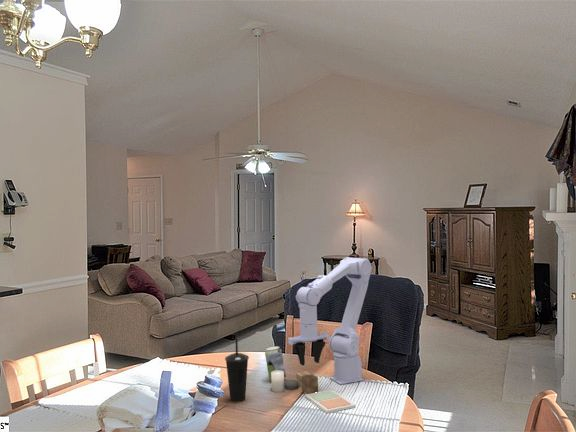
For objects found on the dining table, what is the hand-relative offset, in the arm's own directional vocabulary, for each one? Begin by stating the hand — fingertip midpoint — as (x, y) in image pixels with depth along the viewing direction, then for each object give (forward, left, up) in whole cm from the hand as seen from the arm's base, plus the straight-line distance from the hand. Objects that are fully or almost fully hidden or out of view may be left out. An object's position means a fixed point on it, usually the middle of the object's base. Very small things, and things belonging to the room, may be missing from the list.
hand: (309, 363), depth 170 cm
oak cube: (-1, -7, -10) cm, 12 cm away
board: (-1, +11, -9) cm, 15 cm away
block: (0, 0, -10) cm, 10 cm away
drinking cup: (+24, -5, -10) cm, 26 cm away
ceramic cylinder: (+9, -7, -9) cm, 15 cm away
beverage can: (+6, -16, -10) cm, 19 cm away
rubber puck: (+4, -7, -10) cm, 12 cm away
